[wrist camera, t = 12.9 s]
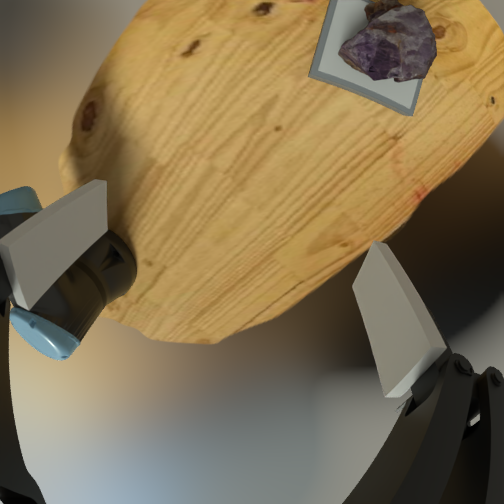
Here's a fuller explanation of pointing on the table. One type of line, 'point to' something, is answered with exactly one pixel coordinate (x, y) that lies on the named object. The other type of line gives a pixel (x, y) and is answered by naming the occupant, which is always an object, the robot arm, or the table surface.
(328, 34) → the grey flat square block
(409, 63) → the rock
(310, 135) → the table surface
